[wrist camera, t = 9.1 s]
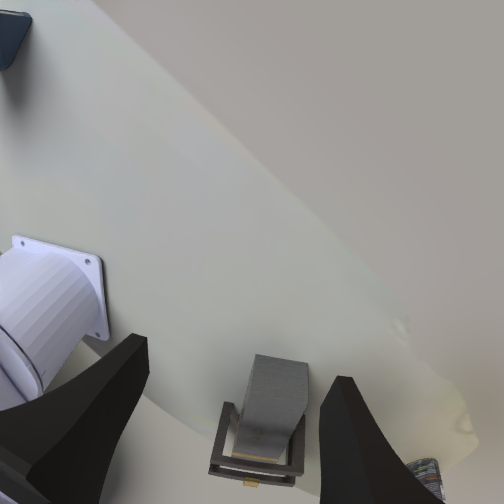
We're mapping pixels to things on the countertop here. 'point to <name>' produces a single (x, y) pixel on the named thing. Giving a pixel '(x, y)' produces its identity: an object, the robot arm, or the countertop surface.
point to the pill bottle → (428, 476)
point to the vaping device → (11, 34)
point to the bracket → (219, 459)
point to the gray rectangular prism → (271, 408)
